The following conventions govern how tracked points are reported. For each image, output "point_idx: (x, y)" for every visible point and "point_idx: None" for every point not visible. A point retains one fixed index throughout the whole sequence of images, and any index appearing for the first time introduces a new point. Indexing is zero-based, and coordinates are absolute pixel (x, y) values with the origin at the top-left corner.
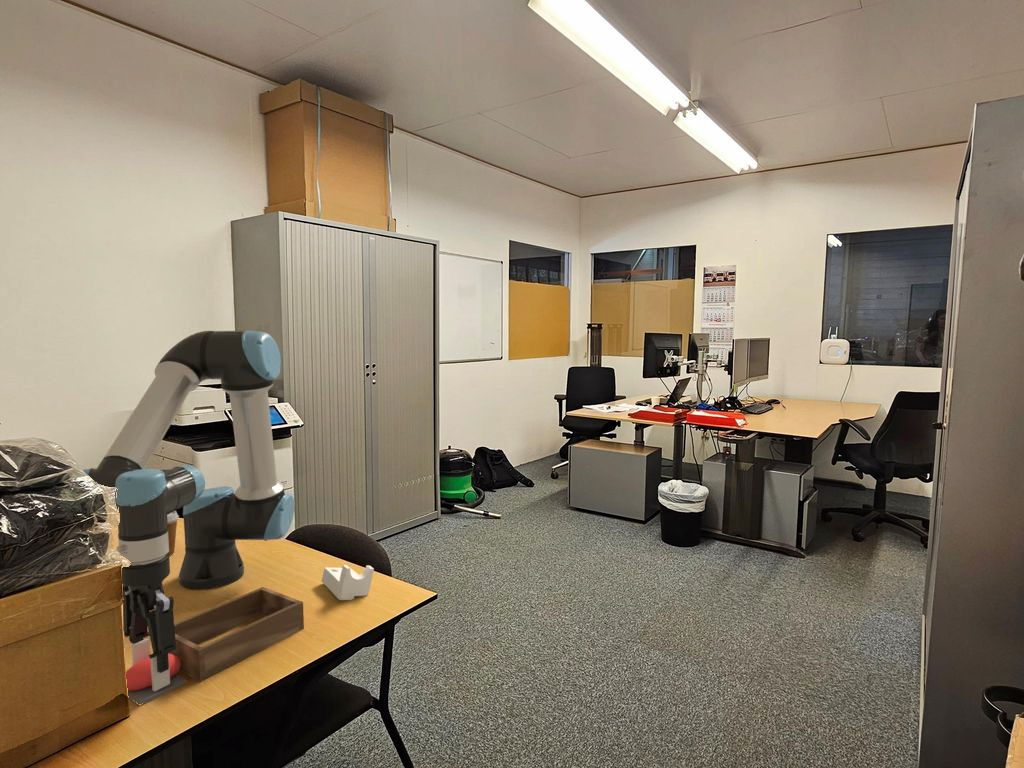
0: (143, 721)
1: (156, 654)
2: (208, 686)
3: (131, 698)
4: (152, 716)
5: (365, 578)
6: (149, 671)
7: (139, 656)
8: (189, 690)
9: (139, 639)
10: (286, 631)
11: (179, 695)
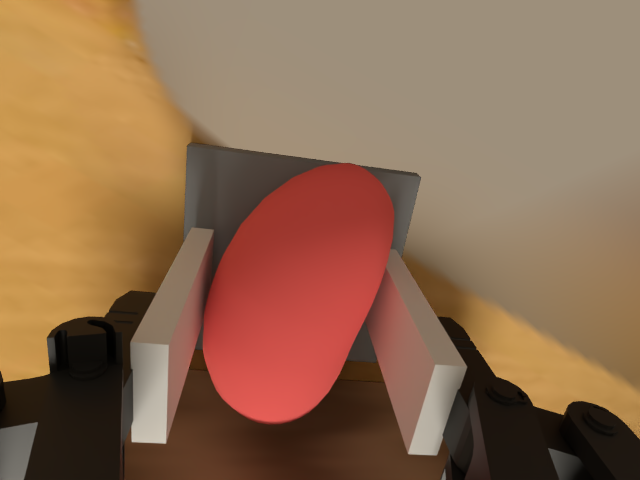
0: (37, 66)
1: (57, 363)
2: None
3: (274, 156)
4: (43, 114)
5: None
6: (225, 276)
7: (400, 332)
8: None
9: (455, 424)
10: None
11: (110, 272)
